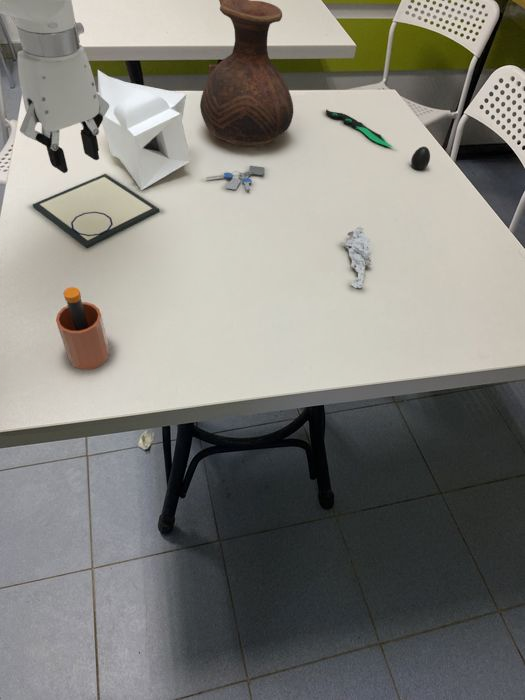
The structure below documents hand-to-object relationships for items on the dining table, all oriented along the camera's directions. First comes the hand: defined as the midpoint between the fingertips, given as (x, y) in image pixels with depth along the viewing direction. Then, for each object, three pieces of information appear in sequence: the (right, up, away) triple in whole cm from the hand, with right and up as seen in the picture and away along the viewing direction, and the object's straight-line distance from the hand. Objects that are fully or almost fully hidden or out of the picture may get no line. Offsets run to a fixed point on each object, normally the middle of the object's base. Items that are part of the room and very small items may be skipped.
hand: (76, 161), depth 81 cm
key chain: (+26, +6, +26) cm, 37 cm away
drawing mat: (-2, -3, +15) cm, 16 cm away
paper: (+48, -15, +12) cm, 52 cm away
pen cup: (+5, -32, -8) cm, 33 cm away
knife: (+55, +26, +47) cm, 77 cm away
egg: (+68, +13, +37) cm, 78 cm away
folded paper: (+4, +12, +29) cm, 31 cm away
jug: (+26, +22, +40) cm, 53 cm away
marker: (+5, -31, -8) cm, 33 cm away
